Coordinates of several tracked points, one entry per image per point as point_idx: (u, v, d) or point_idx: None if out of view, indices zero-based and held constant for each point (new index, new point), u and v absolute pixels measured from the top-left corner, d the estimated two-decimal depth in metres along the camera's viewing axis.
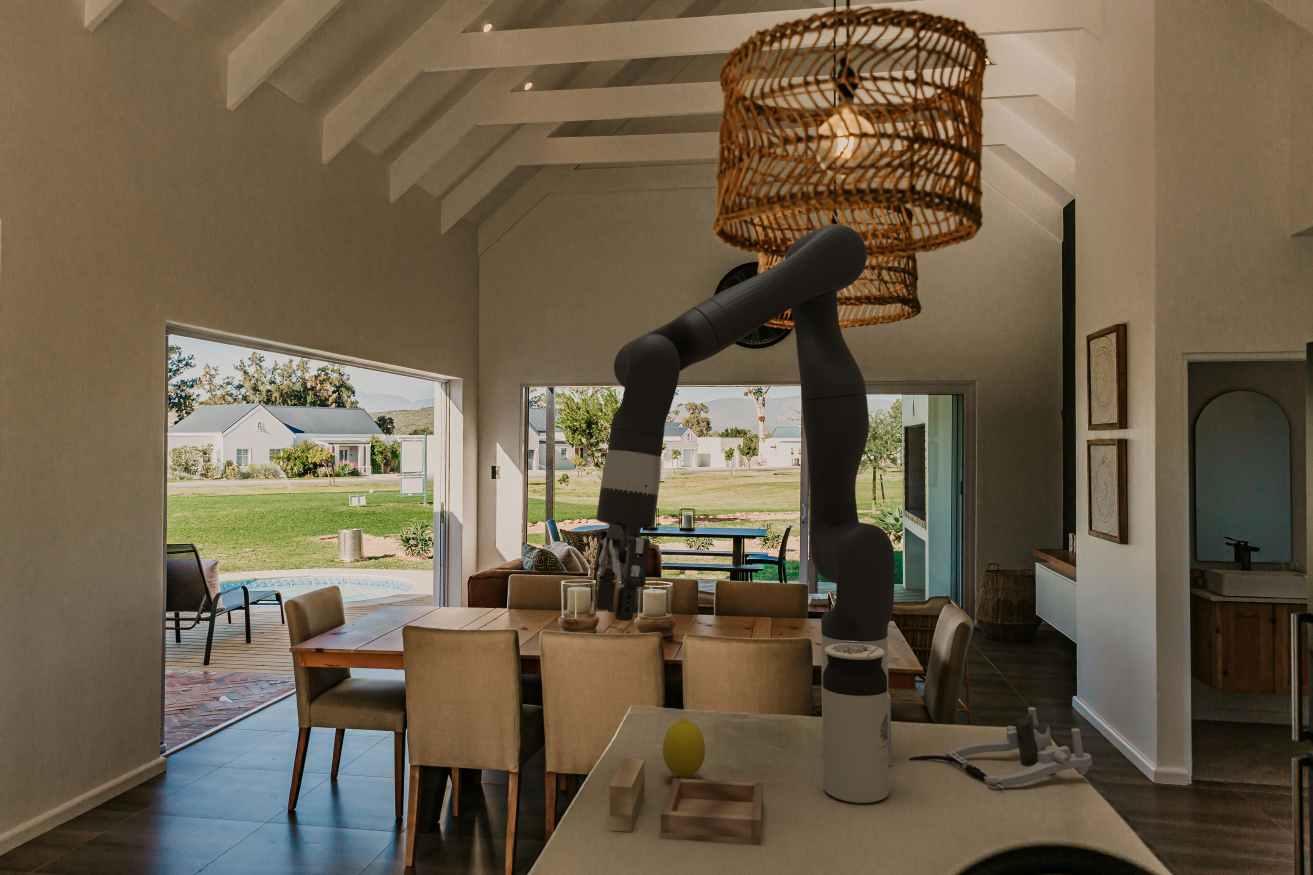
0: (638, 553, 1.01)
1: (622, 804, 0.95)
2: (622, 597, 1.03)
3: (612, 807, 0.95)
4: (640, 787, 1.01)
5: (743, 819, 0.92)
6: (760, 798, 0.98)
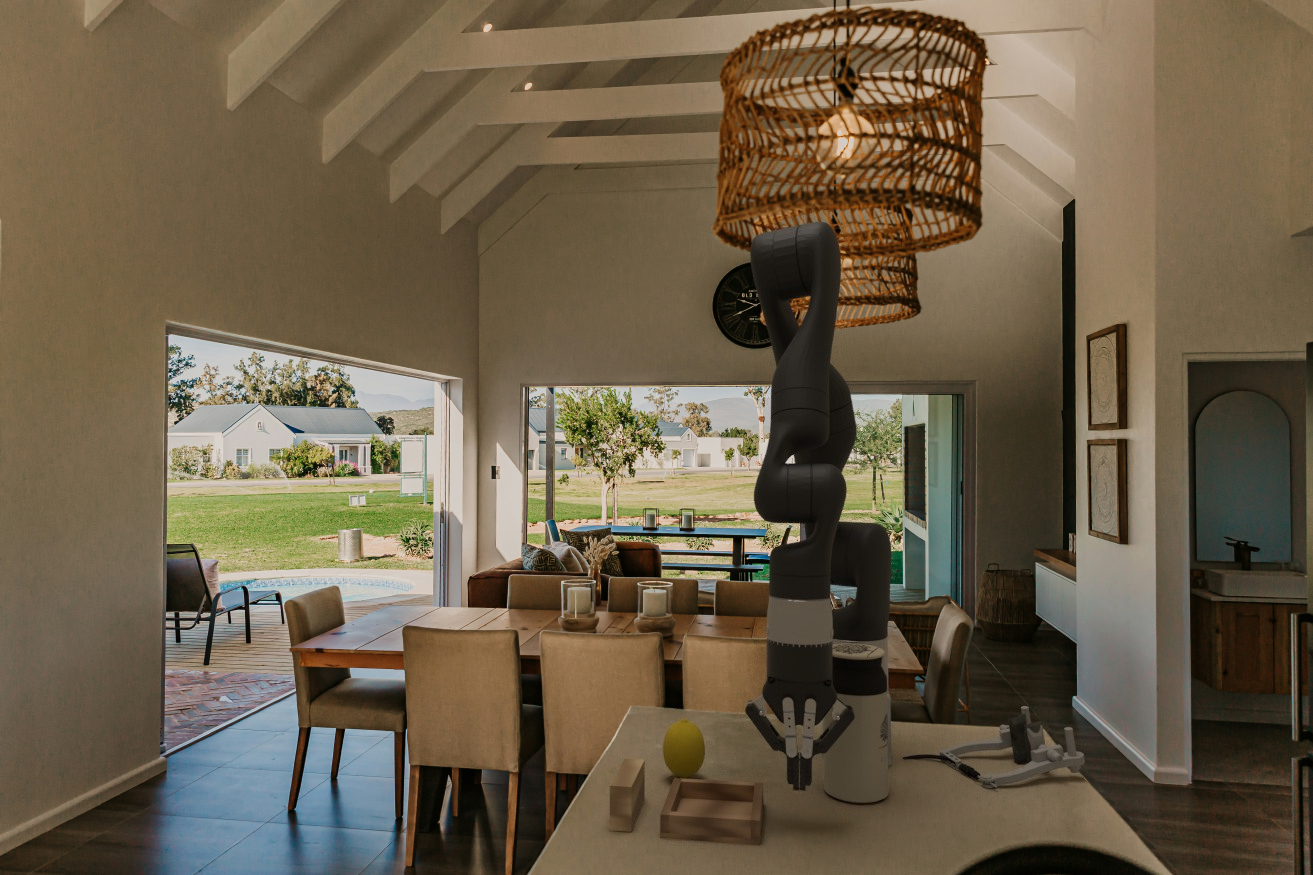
0: None
1: (622, 804, 0.95)
2: (807, 765, 0.95)
3: (612, 807, 0.95)
4: (640, 787, 1.01)
5: (743, 819, 0.92)
6: (760, 798, 0.98)
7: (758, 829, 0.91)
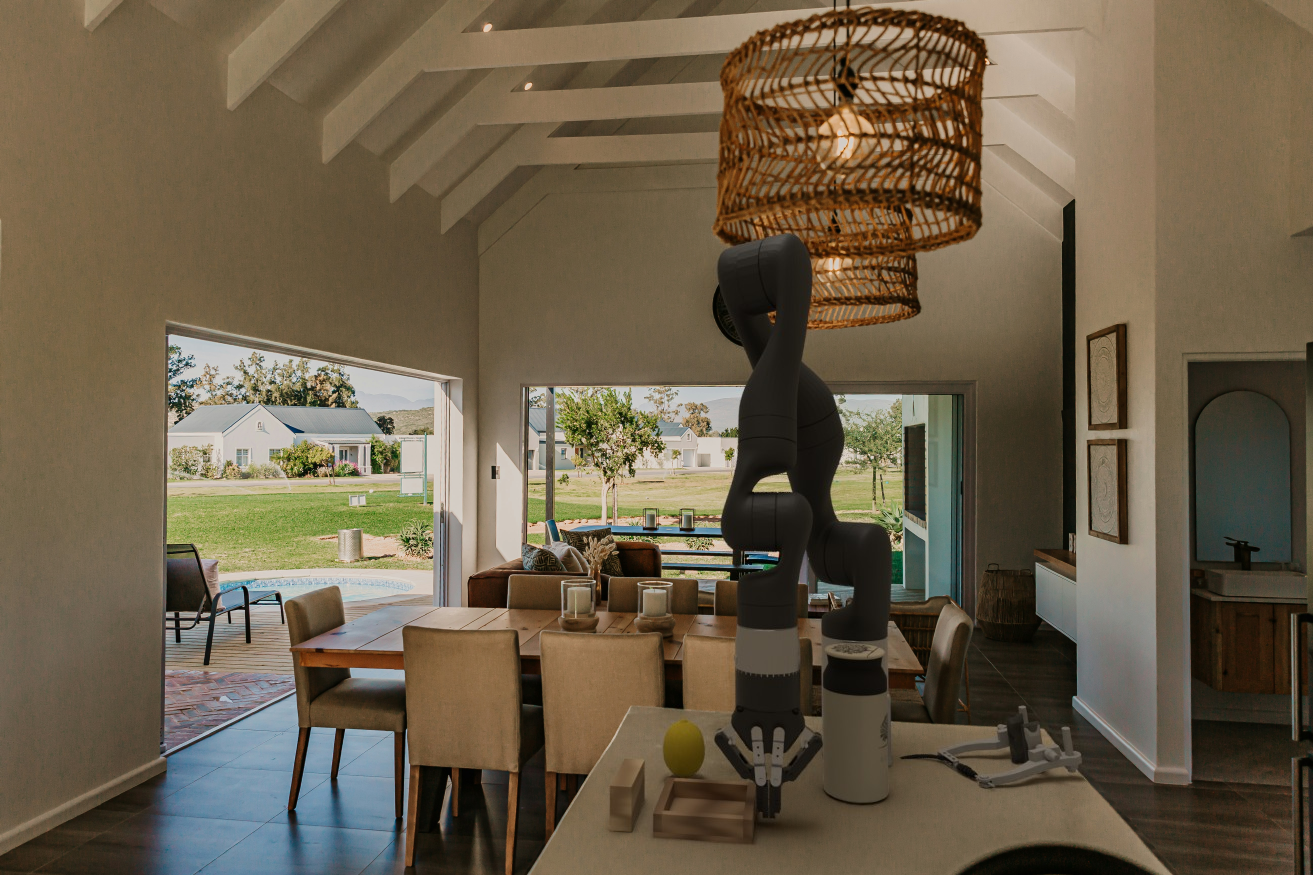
0: None
1: (622, 804, 0.95)
2: (776, 793, 0.96)
3: (612, 807, 0.95)
4: (640, 787, 1.01)
5: (735, 819, 0.92)
6: (753, 797, 0.98)
7: (750, 828, 0.92)
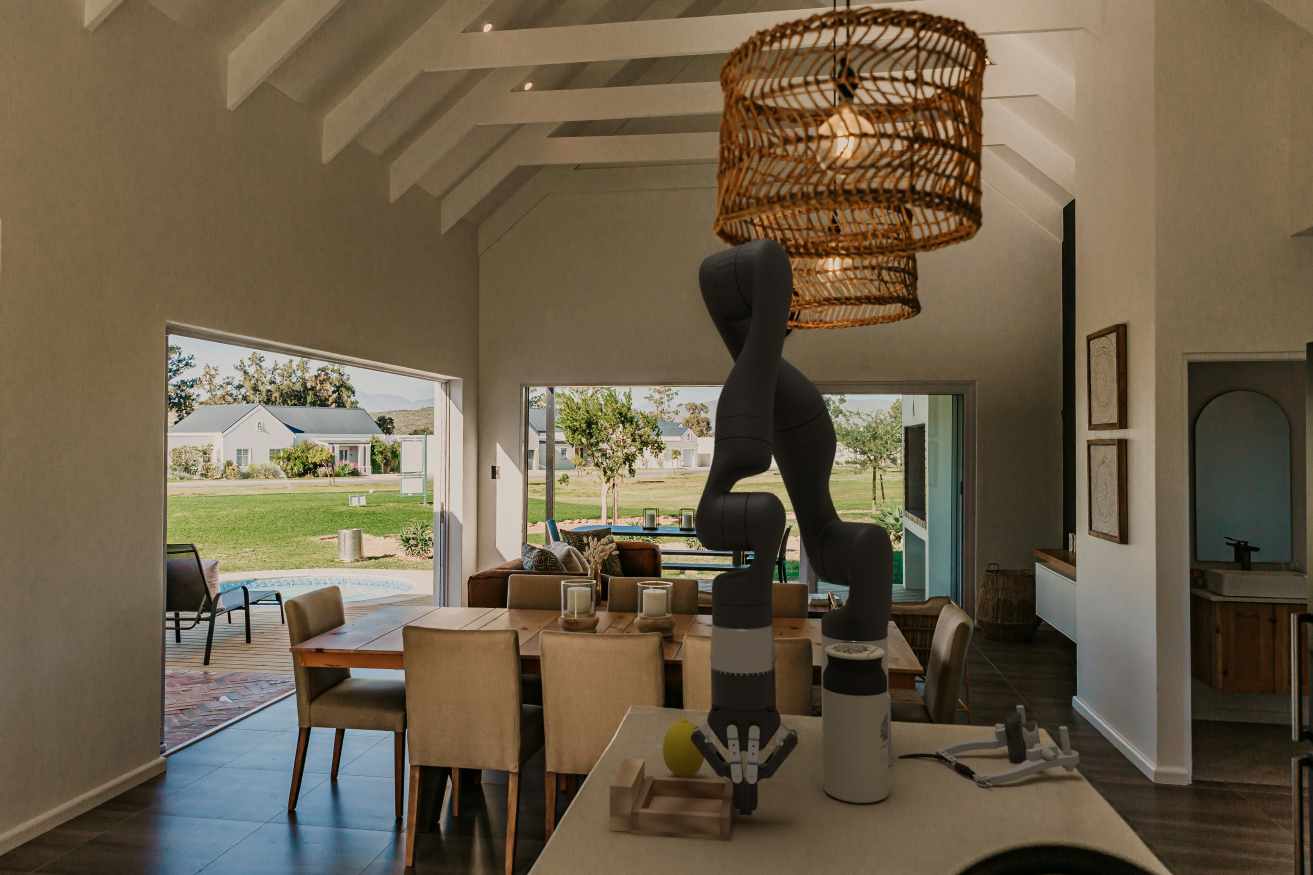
0: None
1: (622, 804, 0.95)
2: (752, 790, 0.97)
3: (612, 807, 0.95)
4: (640, 787, 1.01)
5: (712, 816, 0.93)
6: (730, 795, 0.99)
7: (727, 826, 0.92)
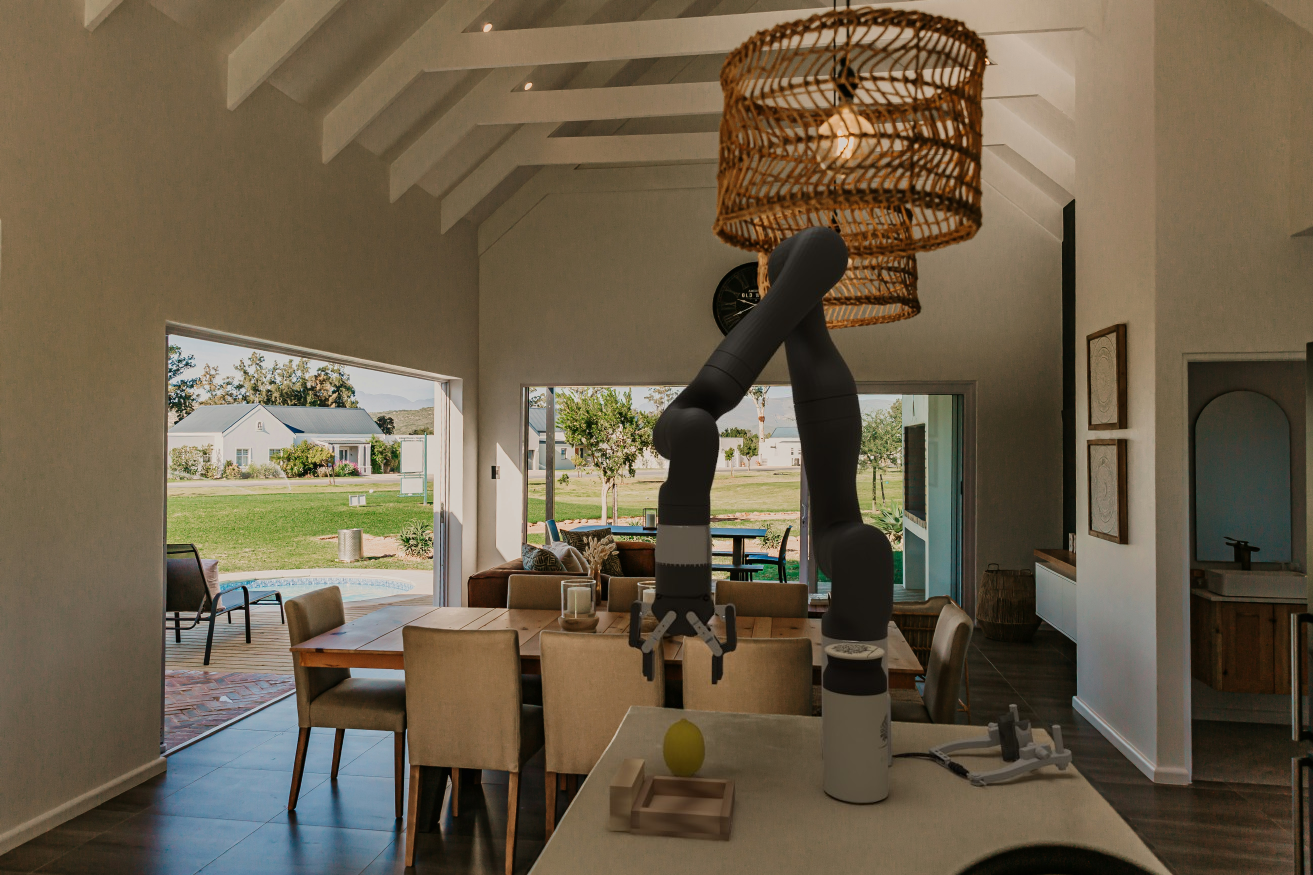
0: None
1: (622, 804, 0.95)
2: (718, 662, 1.09)
3: (612, 807, 0.95)
4: (640, 787, 1.01)
5: (712, 815, 0.93)
6: (731, 795, 0.99)
7: (727, 825, 0.92)
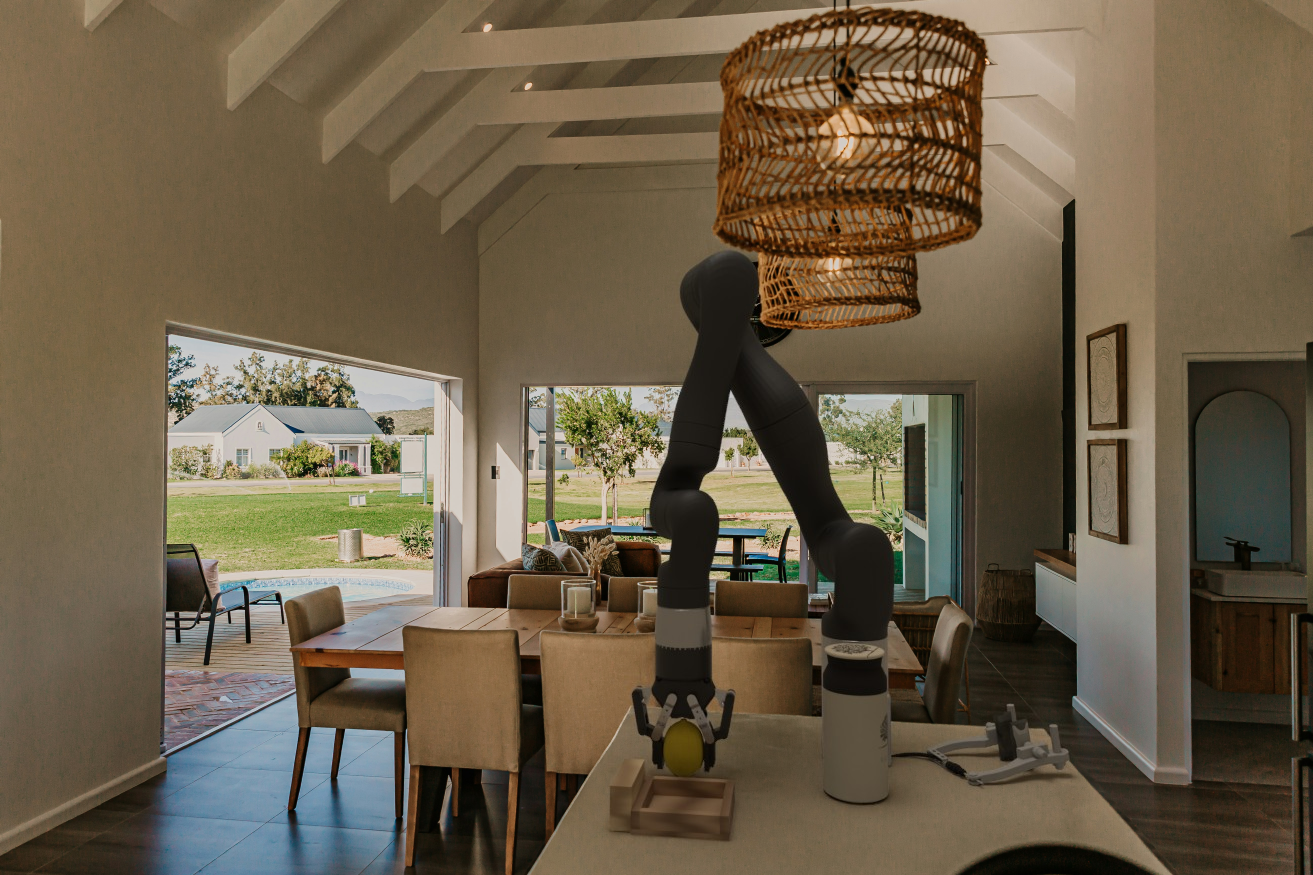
0: None
1: (622, 804, 0.95)
2: (710, 749, 1.09)
3: (612, 807, 0.95)
4: (640, 787, 1.01)
5: (712, 815, 0.93)
6: (730, 795, 0.99)
7: (727, 825, 0.92)
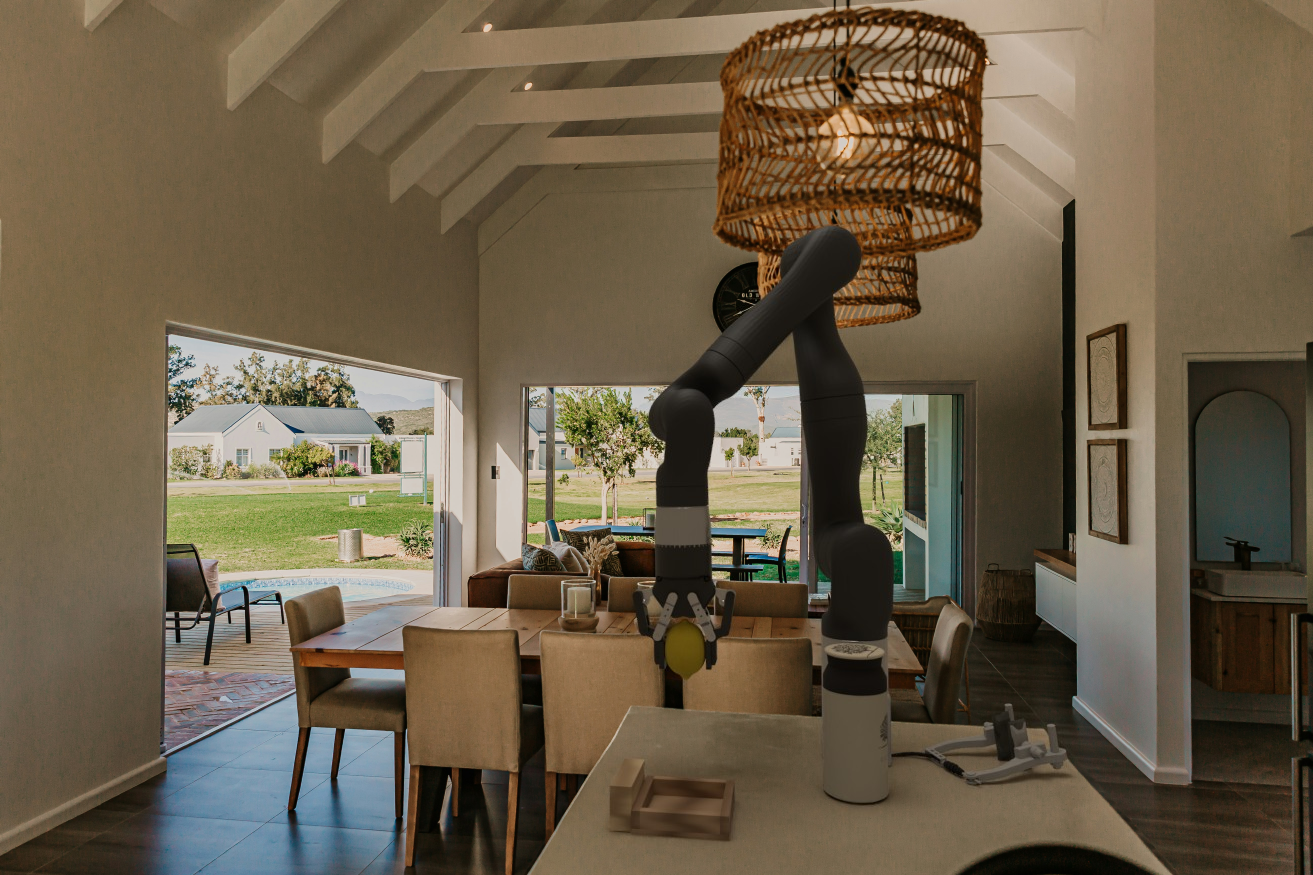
0: None
1: (622, 804, 0.95)
2: (712, 647, 1.10)
3: (612, 807, 0.95)
4: (640, 787, 1.01)
5: (712, 815, 0.93)
6: (731, 795, 0.99)
7: (727, 825, 0.92)
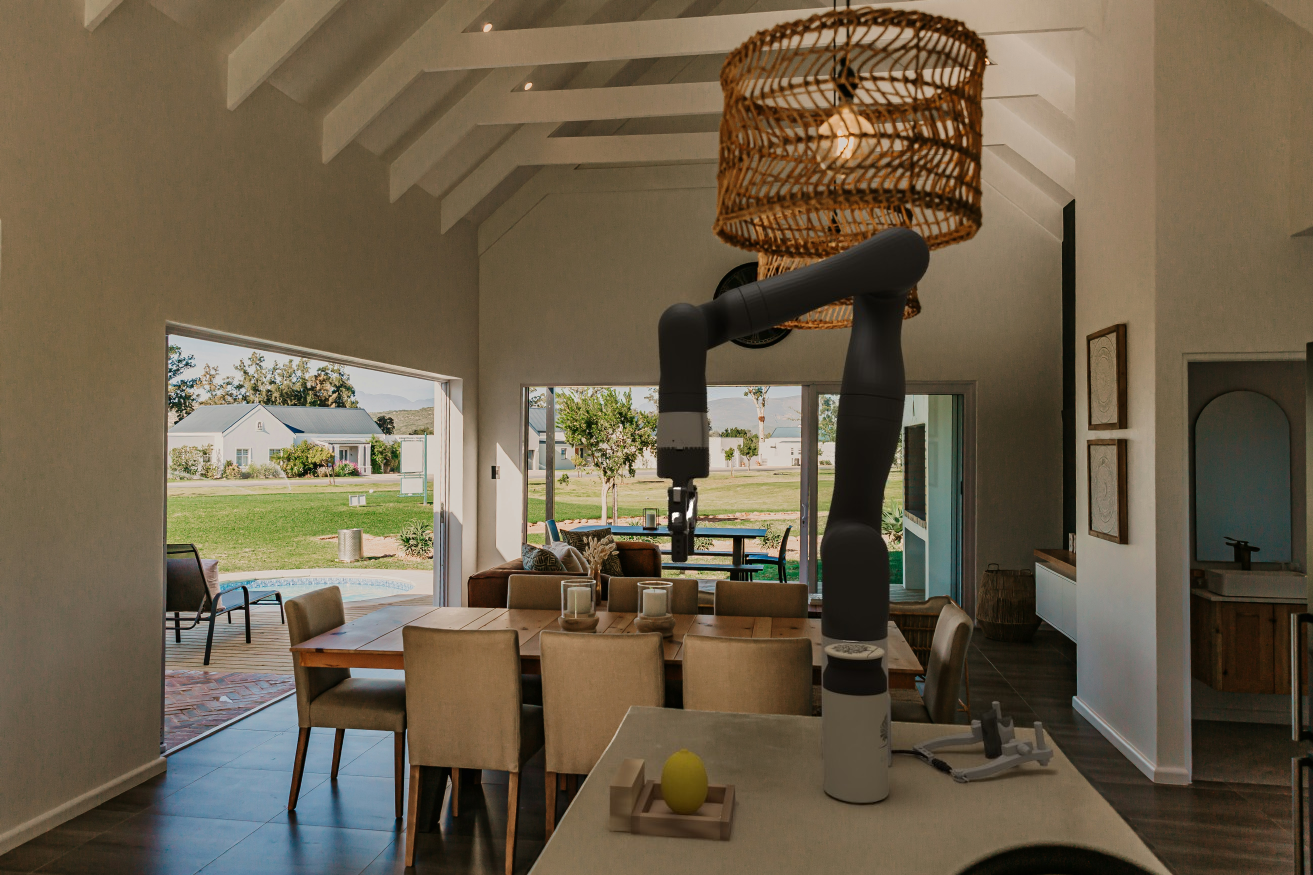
0: None
1: (622, 804, 0.95)
2: None
3: (612, 807, 0.95)
4: (640, 787, 1.01)
5: (712, 821, 0.93)
6: (731, 800, 0.99)
7: (727, 830, 0.92)
